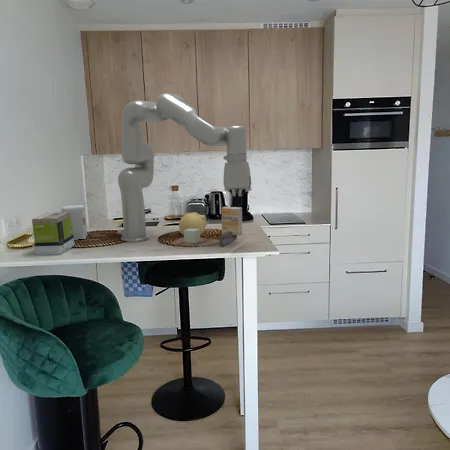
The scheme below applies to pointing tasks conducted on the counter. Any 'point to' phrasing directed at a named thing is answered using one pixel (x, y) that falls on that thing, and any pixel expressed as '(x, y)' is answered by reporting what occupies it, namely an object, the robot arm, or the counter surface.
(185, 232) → the sage block
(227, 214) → the supplement box
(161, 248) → the counter surface
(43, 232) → the tea box
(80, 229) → the supplement box
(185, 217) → the sculpture
